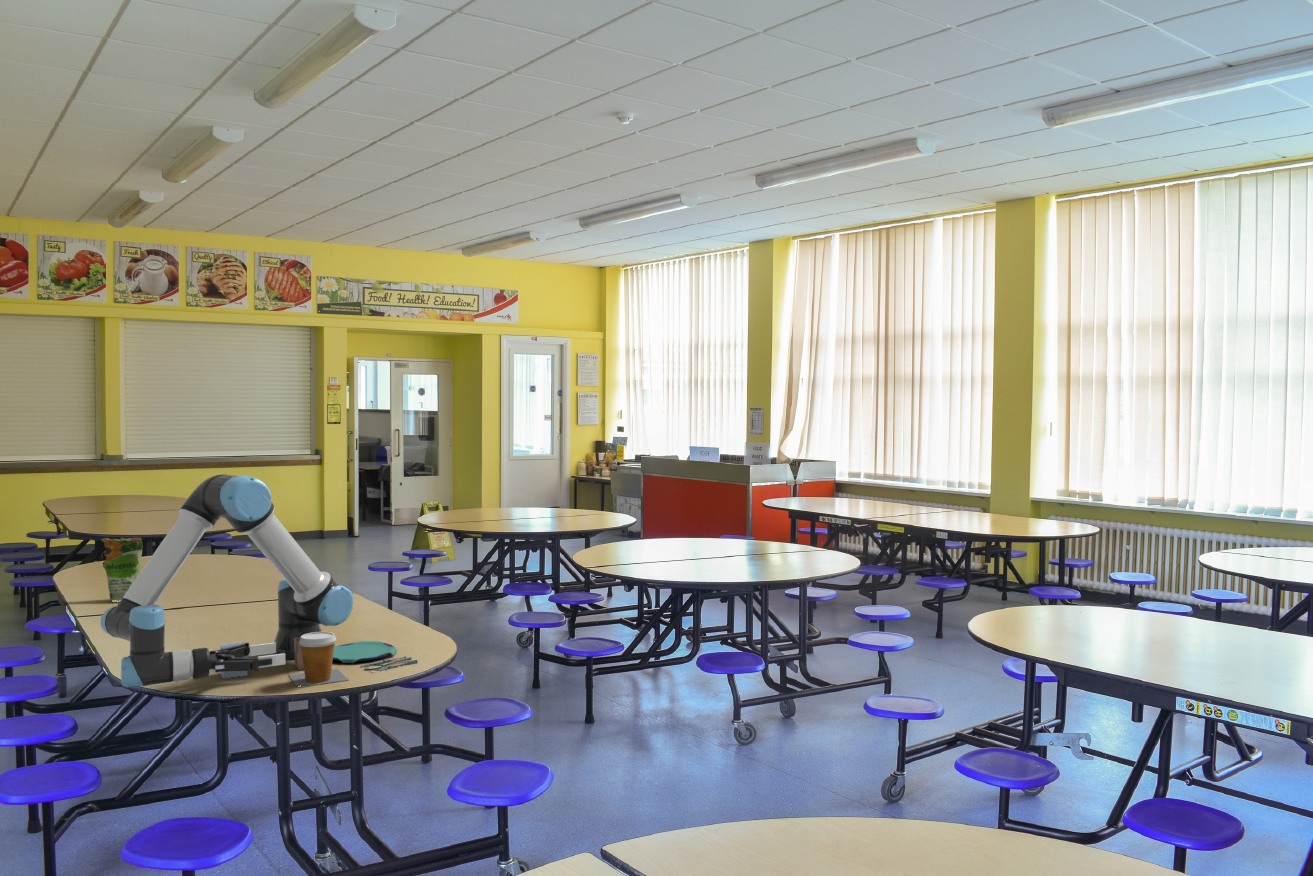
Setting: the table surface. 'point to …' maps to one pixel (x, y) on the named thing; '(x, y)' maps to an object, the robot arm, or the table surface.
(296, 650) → the walnut block
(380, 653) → the cutlery set
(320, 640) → the disposable coffee cup
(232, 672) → the slate block
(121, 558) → the pouch
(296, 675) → the mat
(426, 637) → the table surface
